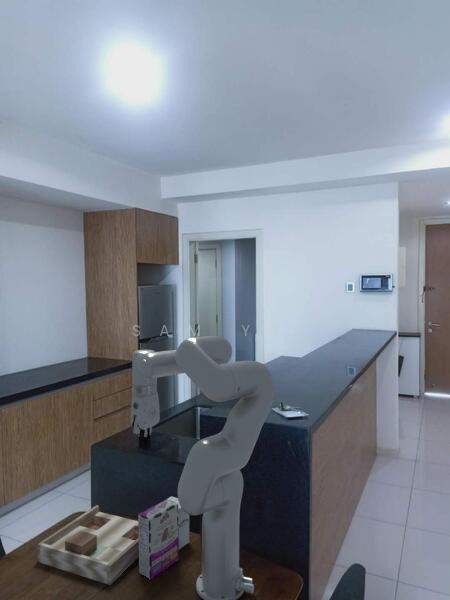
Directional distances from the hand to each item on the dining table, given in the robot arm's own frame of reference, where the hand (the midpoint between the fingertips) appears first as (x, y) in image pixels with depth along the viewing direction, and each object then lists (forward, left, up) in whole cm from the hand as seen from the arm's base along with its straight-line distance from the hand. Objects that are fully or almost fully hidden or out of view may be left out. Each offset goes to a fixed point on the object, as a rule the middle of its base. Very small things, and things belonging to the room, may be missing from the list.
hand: (144, 448), depth 139 cm
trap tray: (+7, +12, -27) cm, 30 cm away
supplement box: (-11, +2, -27) cm, 29 cm away
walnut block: (+8, +20, -24) cm, 32 cm away
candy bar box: (-13, +13, -27) cm, 33 cm away
